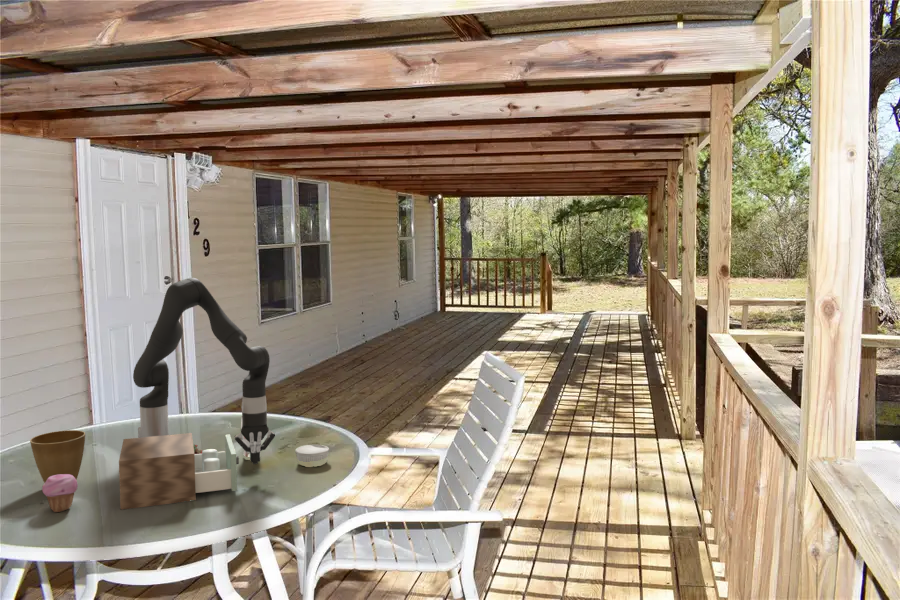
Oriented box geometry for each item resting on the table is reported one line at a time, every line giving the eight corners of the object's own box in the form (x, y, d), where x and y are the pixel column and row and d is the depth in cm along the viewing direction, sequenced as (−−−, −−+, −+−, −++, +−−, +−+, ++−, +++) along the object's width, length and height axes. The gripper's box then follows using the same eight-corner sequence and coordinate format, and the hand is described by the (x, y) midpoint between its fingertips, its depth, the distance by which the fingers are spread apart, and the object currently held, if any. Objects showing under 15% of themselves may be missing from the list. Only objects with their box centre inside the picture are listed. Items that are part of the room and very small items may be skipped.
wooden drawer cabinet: (192, 475, 230) (191, 432, 229) (195, 500, 208) (194, 453, 207) (125, 482, 223) (123, 439, 221) (120, 509, 200) (118, 461, 199)
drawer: (235, 467, 234) (234, 433, 233) (242, 489, 213) (241, 453, 212) (166, 474, 226) (165, 440, 226) (166, 499, 205) (164, 461, 204)
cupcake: (39, 508, 201) (38, 474, 200) (72, 501, 207) (71, 467, 206) (48, 517, 194) (47, 482, 194) (83, 509, 201) (81, 474, 200)
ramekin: (334, 460, 246) (334, 445, 246) (320, 470, 236) (320, 454, 235) (305, 457, 249) (305, 443, 249) (289, 467, 239) (289, 452, 238)
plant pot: (74, 475, 229) (72, 427, 228) (96, 486, 220) (93, 435, 218) (24, 488, 218) (21, 437, 216) (44, 499, 208) (41, 446, 207)
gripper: (233, 414, 218) (234, 469, 219) (277, 410, 223) (278, 464, 224) (231, 408, 225) (232, 462, 226) (274, 405, 230) (274, 457, 231)
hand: (255, 463), depth 225 cm, fingers closed
